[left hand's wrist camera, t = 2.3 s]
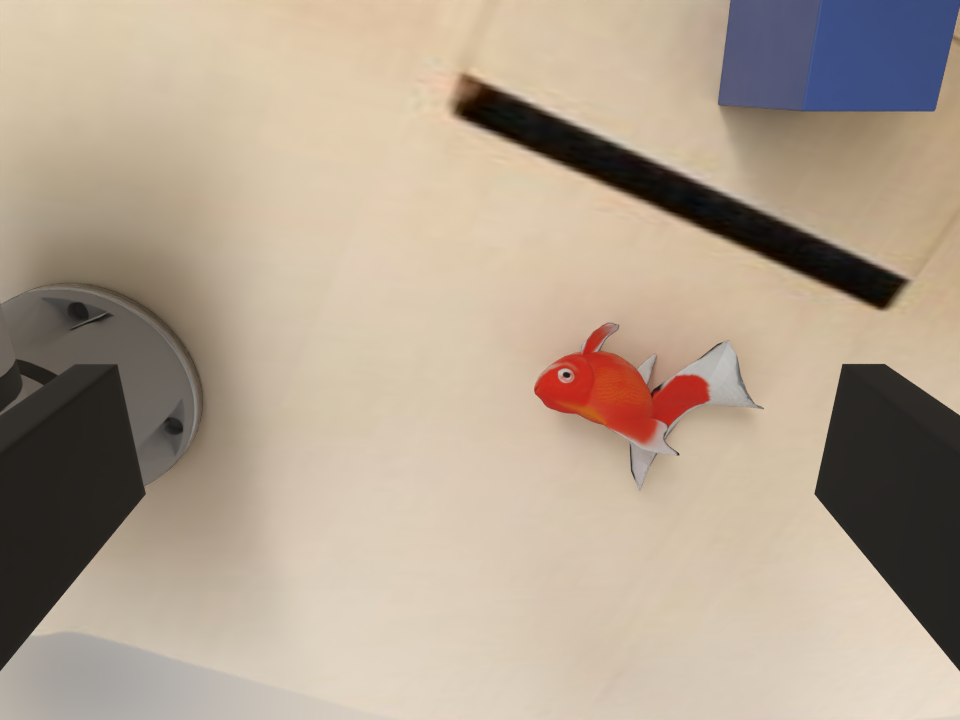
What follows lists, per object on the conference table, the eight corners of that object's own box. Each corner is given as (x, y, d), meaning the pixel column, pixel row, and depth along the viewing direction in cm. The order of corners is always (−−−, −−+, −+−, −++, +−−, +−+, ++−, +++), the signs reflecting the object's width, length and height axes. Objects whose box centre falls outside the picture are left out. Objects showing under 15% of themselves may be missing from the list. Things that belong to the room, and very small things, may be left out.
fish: (602, 241, 39) (663, 377, 33) (757, 313, 48) (828, 432, 42) (494, 351, 45) (529, 483, 39) (649, 397, 54) (697, 511, 48)
